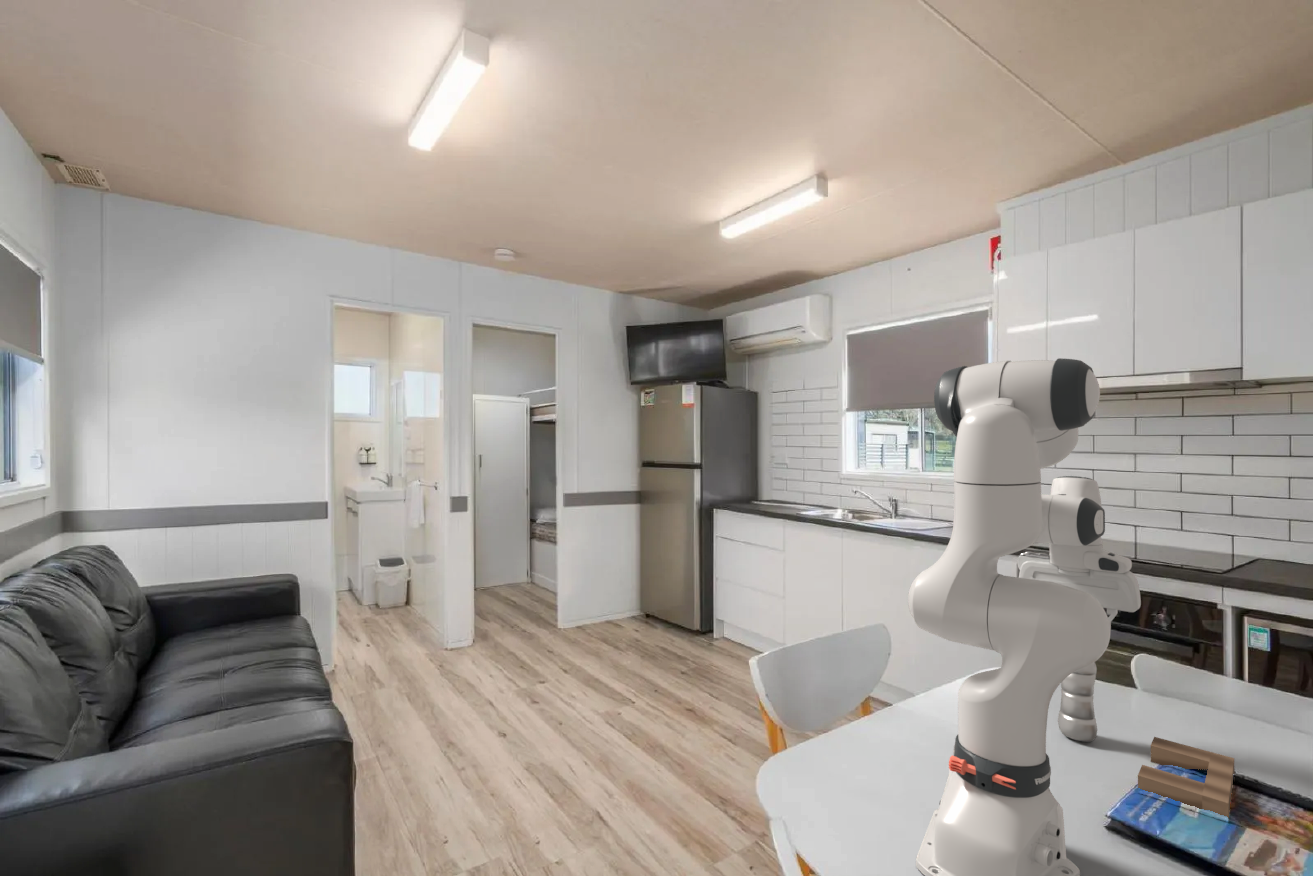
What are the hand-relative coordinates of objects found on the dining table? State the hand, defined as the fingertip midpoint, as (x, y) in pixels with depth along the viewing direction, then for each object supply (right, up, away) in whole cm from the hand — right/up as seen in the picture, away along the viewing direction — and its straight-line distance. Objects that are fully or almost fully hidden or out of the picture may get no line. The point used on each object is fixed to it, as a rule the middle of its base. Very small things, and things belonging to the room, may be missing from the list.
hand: (1076, 625), depth 120 cm
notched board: (+7, -22, -17) cm, 29 cm away
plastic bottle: (0, -23, -1) cm, 23 cm away
